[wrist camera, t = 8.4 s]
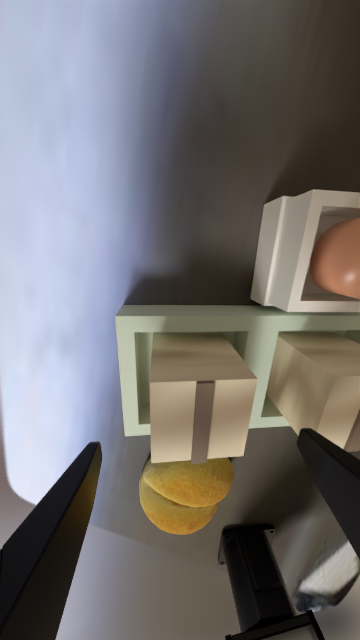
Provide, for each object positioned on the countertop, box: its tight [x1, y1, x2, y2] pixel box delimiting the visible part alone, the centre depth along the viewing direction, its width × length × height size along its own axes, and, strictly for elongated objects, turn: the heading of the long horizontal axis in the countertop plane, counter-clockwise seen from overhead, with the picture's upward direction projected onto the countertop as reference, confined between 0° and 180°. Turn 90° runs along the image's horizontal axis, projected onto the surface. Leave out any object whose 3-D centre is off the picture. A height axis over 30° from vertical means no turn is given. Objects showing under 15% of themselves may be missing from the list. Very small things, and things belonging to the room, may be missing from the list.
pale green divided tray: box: [115, 305, 360, 436], centre depth 15 cm, size 9×18×2 cm, turn 88°
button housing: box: [250, 189, 360, 312], centre depth 12 cm, size 6×6×4 cm
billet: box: [149, 333, 258, 464], centre depth 12 cm, size 5×5×6 cm
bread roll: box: [139, 457, 234, 535], centre depth 18 cm, size 8×9×4 cm
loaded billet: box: [266, 332, 360, 452], centre depth 13 cm, size 5×5×6 cm
